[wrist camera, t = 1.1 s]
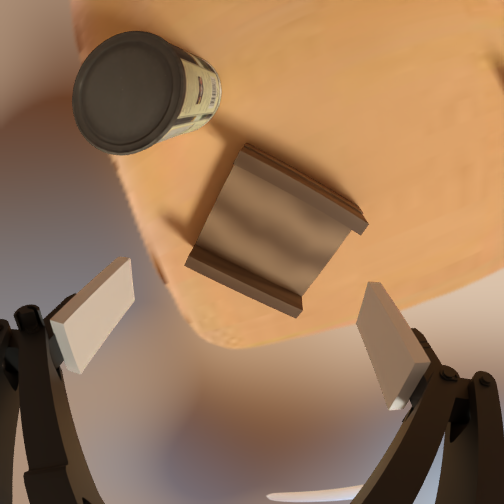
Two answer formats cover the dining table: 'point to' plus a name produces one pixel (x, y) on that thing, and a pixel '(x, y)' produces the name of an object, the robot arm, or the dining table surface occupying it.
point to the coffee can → (142, 93)
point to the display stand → (272, 231)
